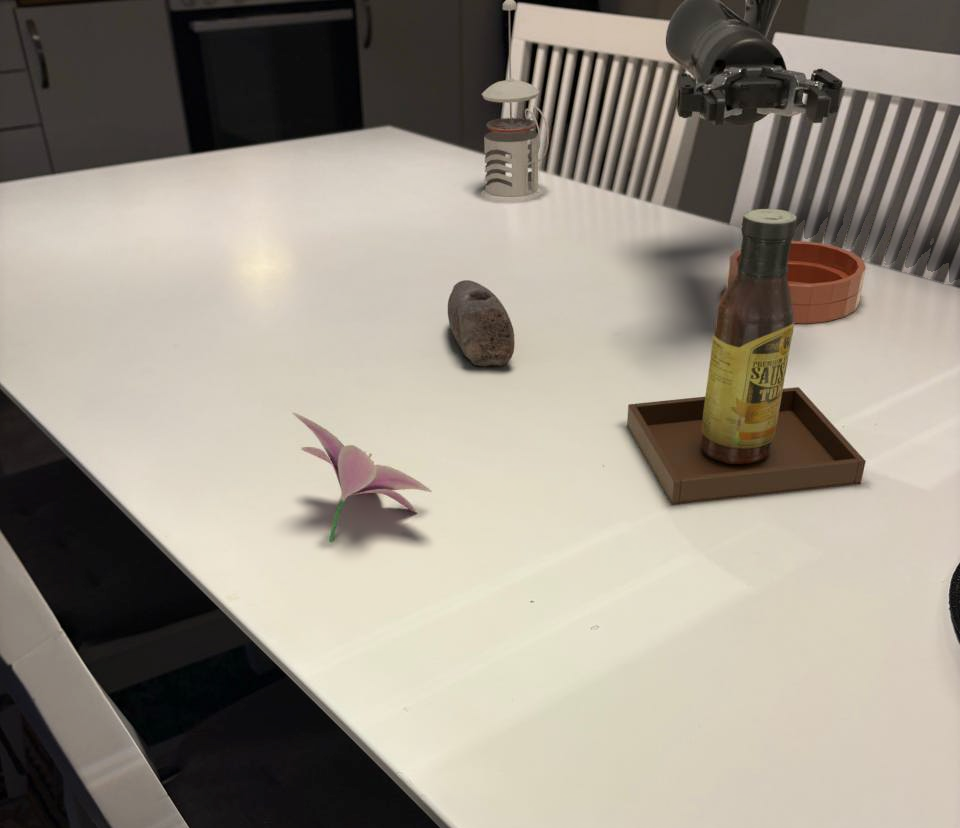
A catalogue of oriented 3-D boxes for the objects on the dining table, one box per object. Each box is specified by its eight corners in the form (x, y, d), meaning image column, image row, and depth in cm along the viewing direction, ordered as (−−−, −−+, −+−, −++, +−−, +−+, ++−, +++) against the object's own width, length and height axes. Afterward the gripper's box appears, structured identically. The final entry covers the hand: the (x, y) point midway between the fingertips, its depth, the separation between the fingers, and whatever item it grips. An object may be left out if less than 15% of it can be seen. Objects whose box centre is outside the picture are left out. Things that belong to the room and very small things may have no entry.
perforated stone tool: (438, 326, 116) (434, 264, 112) (484, 320, 117) (482, 258, 113) (468, 381, 105) (465, 314, 100) (518, 375, 106) (518, 308, 101)
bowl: (825, 274, 125) (832, 236, 122) (879, 320, 113) (888, 279, 111) (708, 285, 123) (712, 246, 120) (751, 332, 112) (757, 291, 109)
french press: (512, 181, 160) (510, -9, 144) (567, 195, 153) (571, -2, 137) (465, 195, 155) (457, 0, 139) (519, 211, 148) (517, 8, 132)
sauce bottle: (747, 476, 87) (782, 235, 75) (684, 453, 91) (708, 219, 78) (787, 447, 91) (826, 213, 79) (725, 426, 94) (754, 198, 82)
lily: (441, 568, 81) (464, 446, 79) (297, 552, 75) (318, 419, 73) (383, 540, 91) (402, 431, 89) (252, 523, 85) (270, 406, 84)
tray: (794, 411, 97) (798, 386, 96) (860, 487, 86) (866, 460, 85) (626, 428, 96) (628, 404, 94) (671, 508, 85) (674, 481, 83)
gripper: (668, 32, 100) (691, 65, 87) (818, 27, 99) (863, 59, 86) (662, 117, 104) (683, 161, 92) (805, 113, 104) (846, 156, 91)
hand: (770, 111), depth 89 cm, fingers open, 8 cm apart
